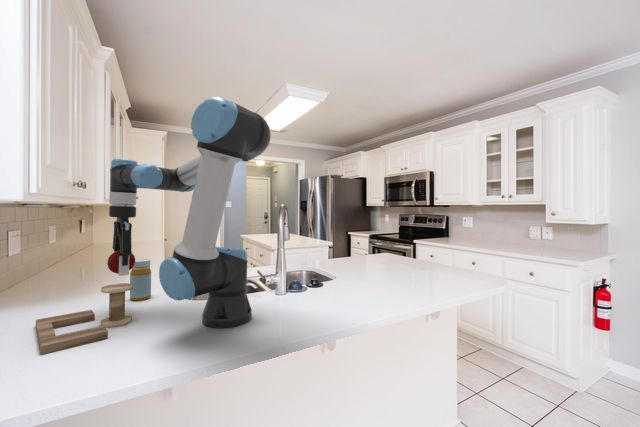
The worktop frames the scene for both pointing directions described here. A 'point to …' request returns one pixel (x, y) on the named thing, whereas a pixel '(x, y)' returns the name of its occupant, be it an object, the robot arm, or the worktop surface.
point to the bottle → (140, 280)
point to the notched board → (68, 340)
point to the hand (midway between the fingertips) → (120, 272)
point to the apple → (114, 262)
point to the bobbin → (116, 305)
